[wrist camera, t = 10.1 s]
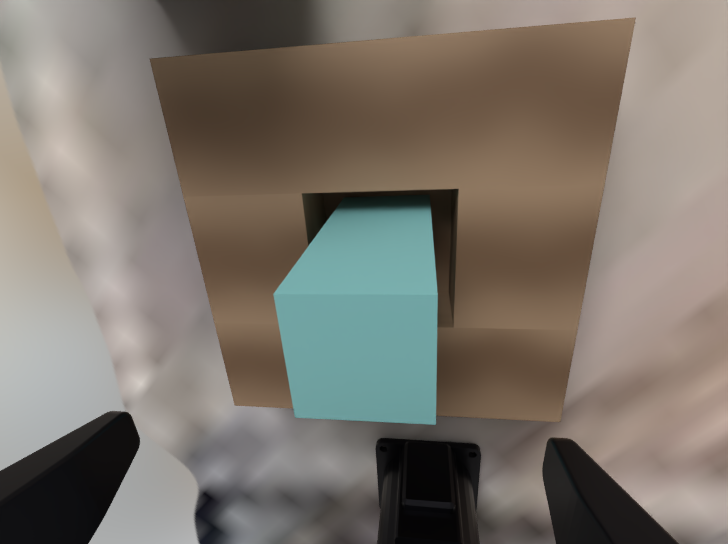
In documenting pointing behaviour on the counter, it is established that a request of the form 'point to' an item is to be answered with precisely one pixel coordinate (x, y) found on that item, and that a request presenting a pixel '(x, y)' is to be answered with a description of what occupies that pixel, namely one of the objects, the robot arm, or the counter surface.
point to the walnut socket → (408, 189)
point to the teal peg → (364, 315)
